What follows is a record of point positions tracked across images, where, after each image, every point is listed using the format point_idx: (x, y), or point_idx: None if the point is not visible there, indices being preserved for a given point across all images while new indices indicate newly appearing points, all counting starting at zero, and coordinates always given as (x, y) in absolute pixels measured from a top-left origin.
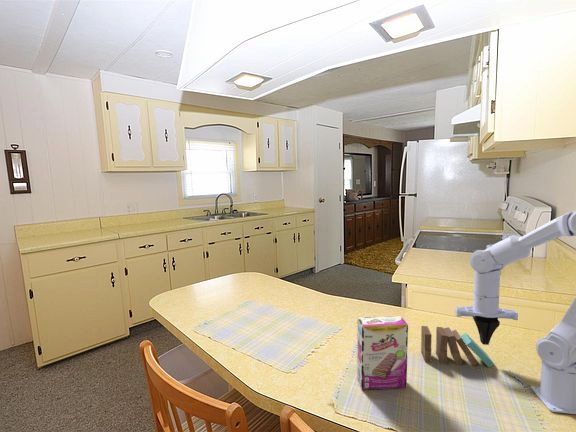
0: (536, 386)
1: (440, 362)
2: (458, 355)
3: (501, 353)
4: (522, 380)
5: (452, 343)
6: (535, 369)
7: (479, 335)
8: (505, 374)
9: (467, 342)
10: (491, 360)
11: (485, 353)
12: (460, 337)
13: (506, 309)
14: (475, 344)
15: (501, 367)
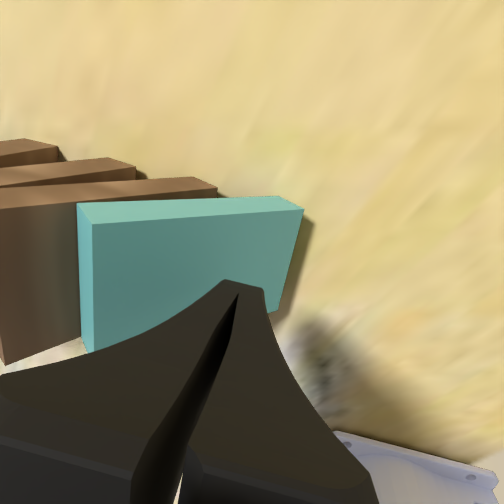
0: (353, 441)
1: None
2: None
3: (444, 161)
4: (341, 387)
5: None
6: (490, 331)
7: (205, 295)
8: (298, 346)
9: (86, 331)
10: (278, 289)
11: (271, 250)
12: (2, 351)
13: None
14: (165, 307)
15: (320, 298)
